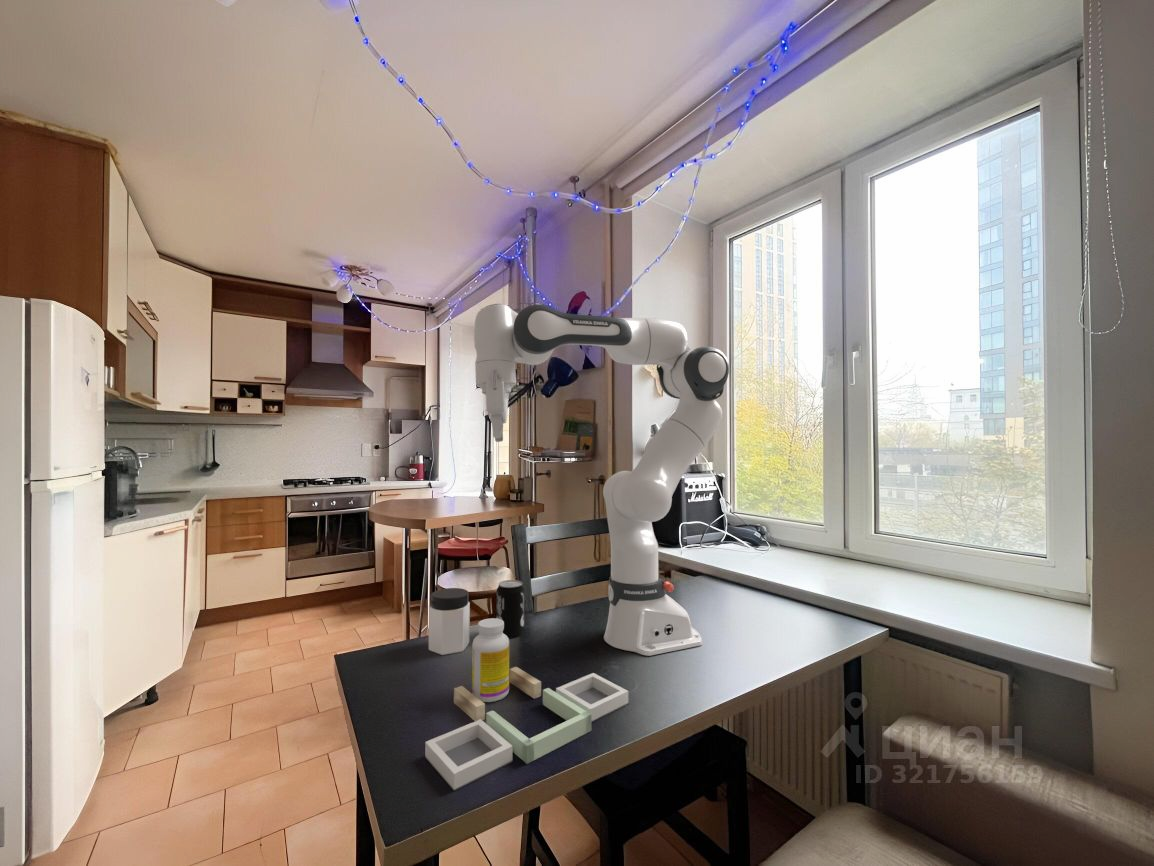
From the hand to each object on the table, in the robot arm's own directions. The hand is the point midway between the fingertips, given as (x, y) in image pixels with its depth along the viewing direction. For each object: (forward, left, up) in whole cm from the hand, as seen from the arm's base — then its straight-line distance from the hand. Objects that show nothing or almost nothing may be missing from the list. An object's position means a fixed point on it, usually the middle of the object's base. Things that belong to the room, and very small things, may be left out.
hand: (498, 439), depth 106 cm
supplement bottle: (+2, +17, -47) cm, 50 cm away
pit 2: (-15, +24, -46) cm, 54 cm away
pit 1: (+6, +35, -46) cm, 58 cm away
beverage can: (-4, -11, -47) cm, 48 cm away
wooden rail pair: (+1, +19, -46) cm, 50 cm away
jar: (+10, -6, -47) cm, 48 cm away
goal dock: (-4, +29, -46) cm, 55 cm away
